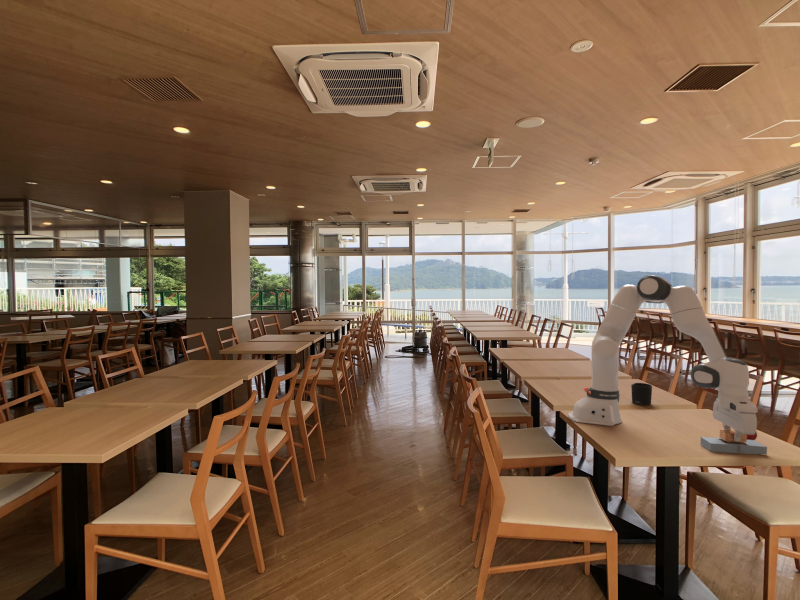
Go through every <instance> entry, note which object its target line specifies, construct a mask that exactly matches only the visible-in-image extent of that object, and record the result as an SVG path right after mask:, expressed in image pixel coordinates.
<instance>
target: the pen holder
mask: <svg viewBox="0 0 800 600" xmlns="http://www.w3.org/2000/svg"><path fill="white" fill-rule="evenodd" d="M652 394H653V386H652V384H649V383H645V382H634V383H631V402H632V403H633V404H634V405H639V406H651V404H652V396H653V395H652Z"/></svg>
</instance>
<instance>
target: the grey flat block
mask: <svg viewBox="0 0 800 600" xmlns="http://www.w3.org/2000/svg"><path fill="white" fill-rule="evenodd" d="M700 446H702V447H703V448H705V449H706V450H708V451H709V452H713V453H726V454H727V453H728V454H730V453H731V454H743V455H757V454H768V447H767V446H766V445H764V444H762V443H760V442H758V441H757V440H756V439H755V440H747V442H744V444H737V443H735V442H733V441H731V444H730V443H724V442H723V441H722V439H721V438H720V437H711V436H710V437H709V436H700Z"/></svg>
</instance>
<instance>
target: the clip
mask: <svg viewBox="0 0 800 600" xmlns="http://www.w3.org/2000/svg"><path fill="white" fill-rule="evenodd" d="M733 435H735V432H734V430H732V429H731V430H724V429H719V438H721V439H722V441H723V442H724V443H730V444H731V441H733V442H735V443H737V444H744V442H747V435H746V434H742V436H741V441H740V442H736V441H734V440H733Z"/></svg>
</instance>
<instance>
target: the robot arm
mask: <svg viewBox="0 0 800 600" xmlns="http://www.w3.org/2000/svg"><path fill="white" fill-rule="evenodd" d="M644 303H649V304H663V303H664V304H666V306H667V307H668V310H669V313H670V316H671V319H672V323H673V325H674V326H675V327H676V329H677V330H678V331H679V332H680V333H682V334H685V335H687V336H689V337H692V338H694V339H696V341H698V342H699V343H700V344H701V346H702V348H703V350H704V353H705V354H706V356H707V360H708V361H709V362H705V363H699V364H696V365H694V366H693V367H692V368H691V370H690V378H691V380H692V383H693V384H695V386H697V387H699V388H703V389H716V390H717V391H718V393H717V394H718V395H717V398H716V399H715V401H714V403H713V407H712V409H713V410H712V417H713V419H714V420H715V421H718V422H721V424H722V427H723V430H731V431H732V429H733V431H734V432H735V435H733V440H734V441H736V442H740V441H741V436H742V434H746V435H754V434H755V433H756V432H757V427H758V426H757V425H758V419H757V415H756V414H758V411H759V410H758V409H759V408H758V407H757V406H756V405H755V404H754V403H753V402H752V401H751V399H749V398H750V397H749V396H750V393H749V391H748V388H749V385H750V372H749V366H748V364H747V363H746V362H745V361H744V360H742V359H740V358H737V357H729V356H728V355H727V353H726V350H725V348H724V346H723V345H722V342H721V340H720V338H719V336H718V334H717V332H716V331H715V329H714V327H713V326H712V325H711V323H710V322H709V319H708V317H707V316H706V313H705V312H704V309H703V306H702V304H701V301H700V299H699V297H698V295H697V293H696V292H695V290H694V289H693V288H692V287H691V286H689V285H677V286H673V285H672V284H671V283H670V282H669V281H668V280H667V279H665V278H663V277H660V276H658V275H655V274H649V275H646V276H643V277H642V278H641V277H640V279H639V280H638V282H637V285H634V284H624V285H622V286H621V287H620V288H619V290H618V291H617V292H616V294H615V296H614V297H613V299H612V301H611V304H610V305H609V307H608V309H607V311H606V313H605V316H604V318H603V320H602V322H601V323H600V326H599V327H598V329H597V331H596V333H595V335H594V337H593V340H592V342H591V375H590V376H591V382H590V383H591V385H590V386H591V387H587V386H586V387H585V386H584V388H583V391H584V392H585V393H586V395H585V396H584V397H581V399H579V400H577V401H576V402H575V403H574V405H573V409H572V411H569V412H568V413H567V417H568V418H569V419H570V420H571V421H573V422H576V423H583V424H590V425H591V424H592V425H600V426H601V425H602V426H608V427H609V426H611V427H612V426H614V425H618V424H621V423H622V422H623V421H622V418H621V414H620V413H621V412H620V407H619V403H620V390H619V365H620V363H619V362H620V345H621V344H622V341H623V340H624V338H625V337H626V334H627V333H628V331H629V330H630V327H632V323H633V321H634V319H635V318H636V315H637V313H638V311H639V309H640V307H641V306H642V304H644Z"/></svg>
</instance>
